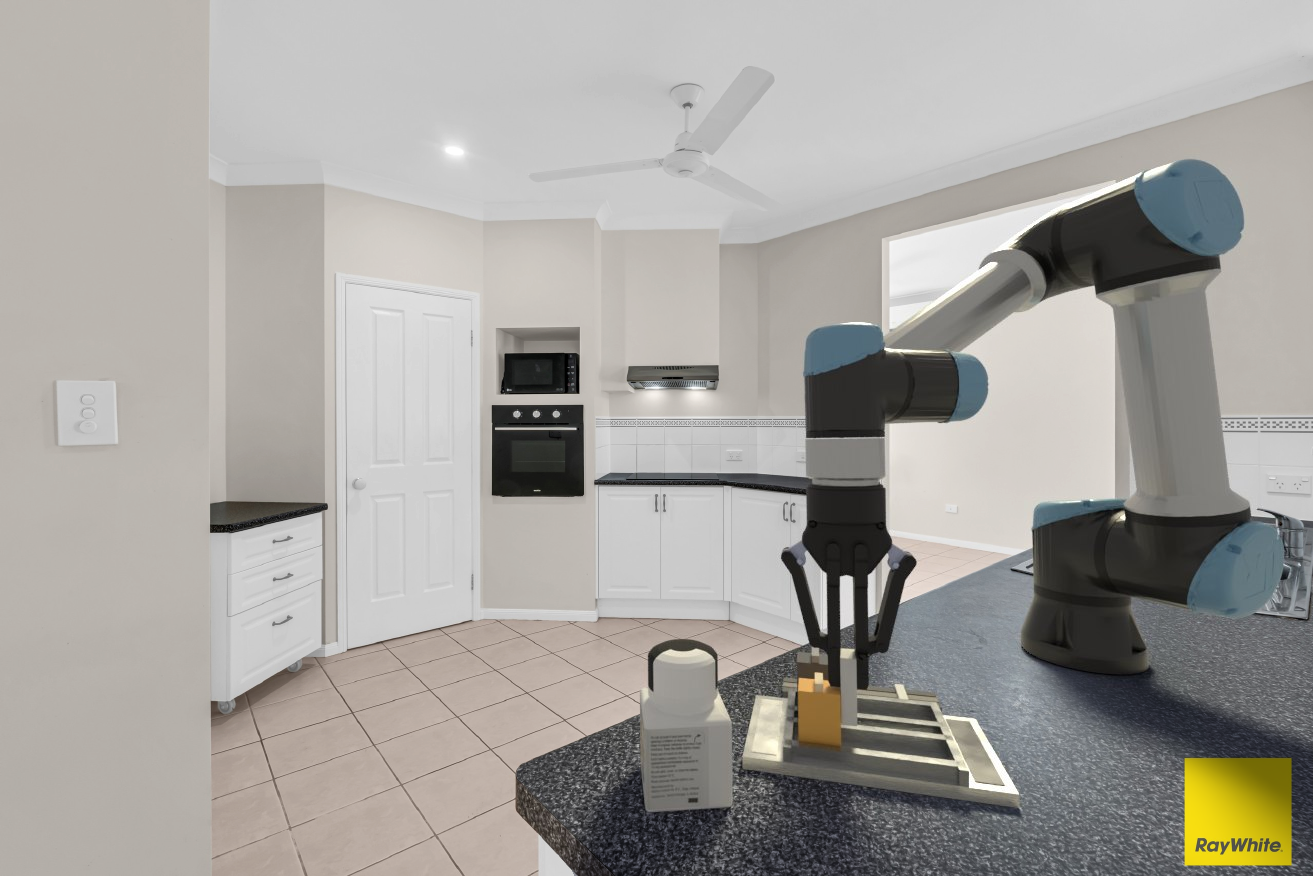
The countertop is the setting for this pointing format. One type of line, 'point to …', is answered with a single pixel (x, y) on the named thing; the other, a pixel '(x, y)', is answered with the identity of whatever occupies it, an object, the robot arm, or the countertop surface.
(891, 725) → the panel
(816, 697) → the toggle
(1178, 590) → the robot arm
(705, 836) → the countertop surface
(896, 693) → the strapped plank bundle
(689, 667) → the container
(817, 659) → the toggle
